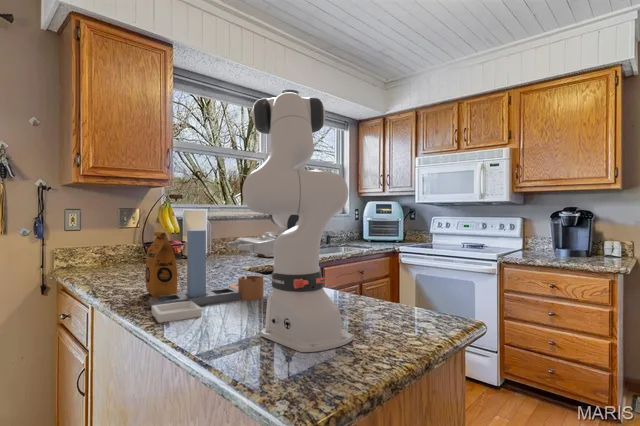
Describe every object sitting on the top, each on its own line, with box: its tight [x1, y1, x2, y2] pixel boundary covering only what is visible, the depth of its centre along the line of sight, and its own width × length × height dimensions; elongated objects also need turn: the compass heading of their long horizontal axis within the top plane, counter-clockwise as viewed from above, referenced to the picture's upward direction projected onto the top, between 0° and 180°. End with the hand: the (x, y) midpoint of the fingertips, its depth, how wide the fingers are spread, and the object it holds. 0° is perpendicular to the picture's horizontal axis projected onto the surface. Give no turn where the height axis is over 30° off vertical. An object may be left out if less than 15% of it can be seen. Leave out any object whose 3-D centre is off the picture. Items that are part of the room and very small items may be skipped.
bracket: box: [228, 274, 264, 301], centre depth 127 cm, size 18×8×7 cm, turn 33°
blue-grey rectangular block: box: [186, 229, 207, 298], centre depth 116 cm, size 5×5×23 cm
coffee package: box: [144, 230, 179, 297], centre depth 127 cm, size 10×12×22 cm
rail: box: [149, 287, 241, 309], centre depth 116 cm, size 9×26×2 cm, turn 124°
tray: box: [151, 301, 203, 324], centre depth 102 cm, size 11×11×2 cm
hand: (233, 246), depth 123 cm, fingers open, 8 cm apart
